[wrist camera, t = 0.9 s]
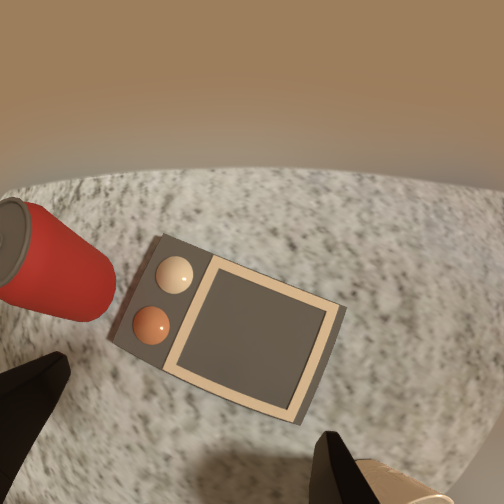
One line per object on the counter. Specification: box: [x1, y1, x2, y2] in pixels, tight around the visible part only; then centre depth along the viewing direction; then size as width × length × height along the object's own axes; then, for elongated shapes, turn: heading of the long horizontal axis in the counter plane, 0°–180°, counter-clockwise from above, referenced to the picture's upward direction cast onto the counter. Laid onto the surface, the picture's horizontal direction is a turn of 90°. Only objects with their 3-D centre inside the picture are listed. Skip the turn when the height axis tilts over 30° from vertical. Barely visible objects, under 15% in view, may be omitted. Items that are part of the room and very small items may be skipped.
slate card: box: [112, 234, 347, 426], centre depth 22 cm, size 10×16×1 cm, turn 68°
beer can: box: [0, 197, 116, 322], centre depth 18 cm, size 7×7×12 cm
